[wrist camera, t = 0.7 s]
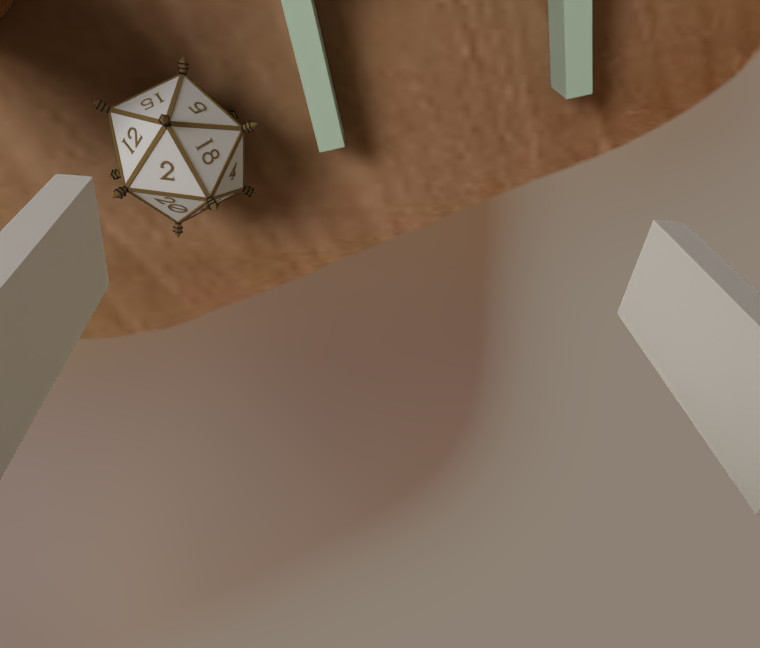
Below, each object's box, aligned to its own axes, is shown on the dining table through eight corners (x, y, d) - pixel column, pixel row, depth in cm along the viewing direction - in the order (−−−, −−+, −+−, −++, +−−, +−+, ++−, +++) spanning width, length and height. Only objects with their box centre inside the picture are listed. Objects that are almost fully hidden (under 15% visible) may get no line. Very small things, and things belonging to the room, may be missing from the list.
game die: (234, 121, 42) (304, 222, 38) (117, 180, 40) (176, 292, 36) (184, 0, 34) (266, 111, 30) (36, 69, 32) (100, 195, 28)
